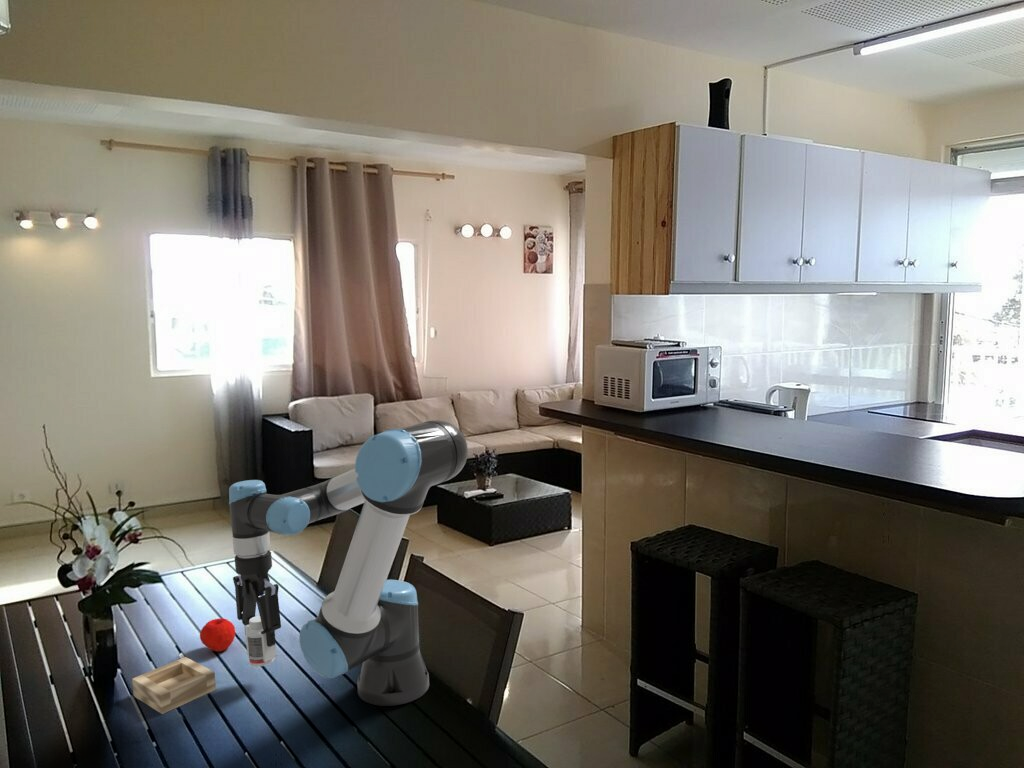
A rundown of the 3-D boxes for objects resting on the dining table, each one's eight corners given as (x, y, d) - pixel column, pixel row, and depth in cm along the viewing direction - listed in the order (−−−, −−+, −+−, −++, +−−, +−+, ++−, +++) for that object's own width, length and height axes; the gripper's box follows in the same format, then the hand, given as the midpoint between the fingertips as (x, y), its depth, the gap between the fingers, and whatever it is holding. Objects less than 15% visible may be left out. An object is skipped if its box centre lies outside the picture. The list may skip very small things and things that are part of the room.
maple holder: (216, 689, 168) (214, 672, 168) (162, 714, 159) (160, 695, 159) (186, 673, 176) (185, 656, 175) (133, 696, 167) (132, 678, 166)
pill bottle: (278, 662, 170) (274, 619, 169) (253, 669, 167) (249, 625, 166) (270, 653, 174) (267, 611, 173) (246, 660, 171) (242, 617, 170)
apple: (194, 655, 185) (191, 625, 184) (215, 640, 192) (213, 611, 192) (222, 658, 183) (220, 628, 182) (243, 643, 190) (241, 614, 189)
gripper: (293, 554, 165) (301, 659, 168) (243, 541, 177) (252, 639, 179) (262, 565, 159) (271, 673, 162) (213, 550, 171) (222, 652, 173)
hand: (261, 655), depth 170 cm, fingers closed on pill bottle, 5 cm apart
